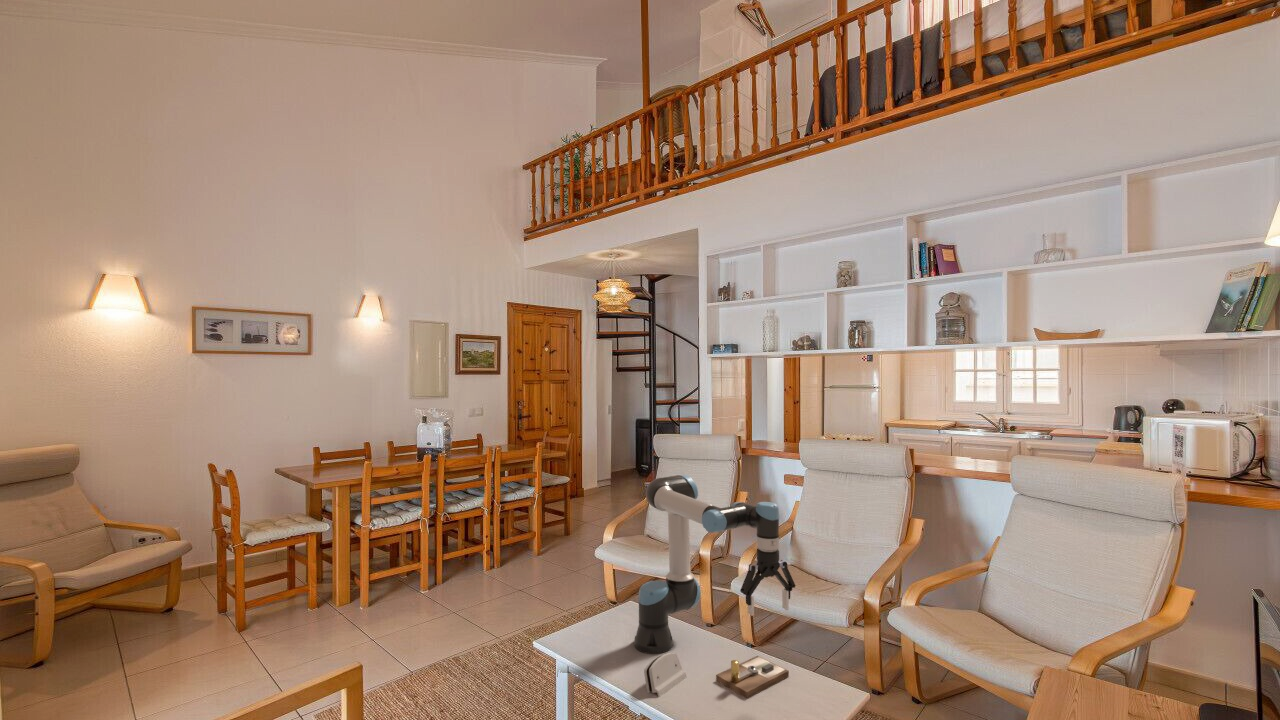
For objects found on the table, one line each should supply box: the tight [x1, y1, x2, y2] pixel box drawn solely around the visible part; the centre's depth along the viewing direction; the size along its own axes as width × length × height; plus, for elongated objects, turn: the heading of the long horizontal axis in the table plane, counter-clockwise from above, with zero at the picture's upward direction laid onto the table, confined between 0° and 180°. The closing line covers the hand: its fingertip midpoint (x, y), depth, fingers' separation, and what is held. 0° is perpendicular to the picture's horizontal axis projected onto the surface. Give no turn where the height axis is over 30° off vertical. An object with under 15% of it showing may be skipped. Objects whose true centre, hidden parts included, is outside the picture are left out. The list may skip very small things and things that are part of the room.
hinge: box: [643, 652, 687, 698], centre depth 199 cm, size 17×5×10 cm, turn 141°
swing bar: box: [730, 659, 757, 682], centre depth 199 cm, size 12×3×6 cm, turn 128°
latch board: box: [715, 655, 789, 699], centre depth 202 cm, size 14×22×4 cm, turn 129°
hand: (768, 611), depth 197 cm, fingers open, 13 cm apart
